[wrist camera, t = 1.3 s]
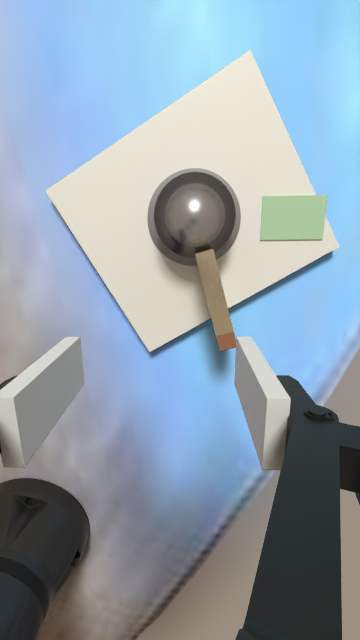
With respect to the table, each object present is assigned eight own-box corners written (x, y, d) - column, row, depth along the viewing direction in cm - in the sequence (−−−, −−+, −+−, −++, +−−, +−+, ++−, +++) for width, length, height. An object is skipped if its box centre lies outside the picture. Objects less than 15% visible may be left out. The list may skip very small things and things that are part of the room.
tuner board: (150, 348, 35) (149, 352, 33) (50, 192, 31) (44, 190, 30) (341, 242, 31) (348, 242, 30) (255, 52, 28) (259, 42, 26)
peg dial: (148, 191, 29) (141, 183, 25) (220, 169, 28) (226, 157, 24) (191, 342, 33) (191, 358, 29) (256, 326, 32) (266, 339, 28)
